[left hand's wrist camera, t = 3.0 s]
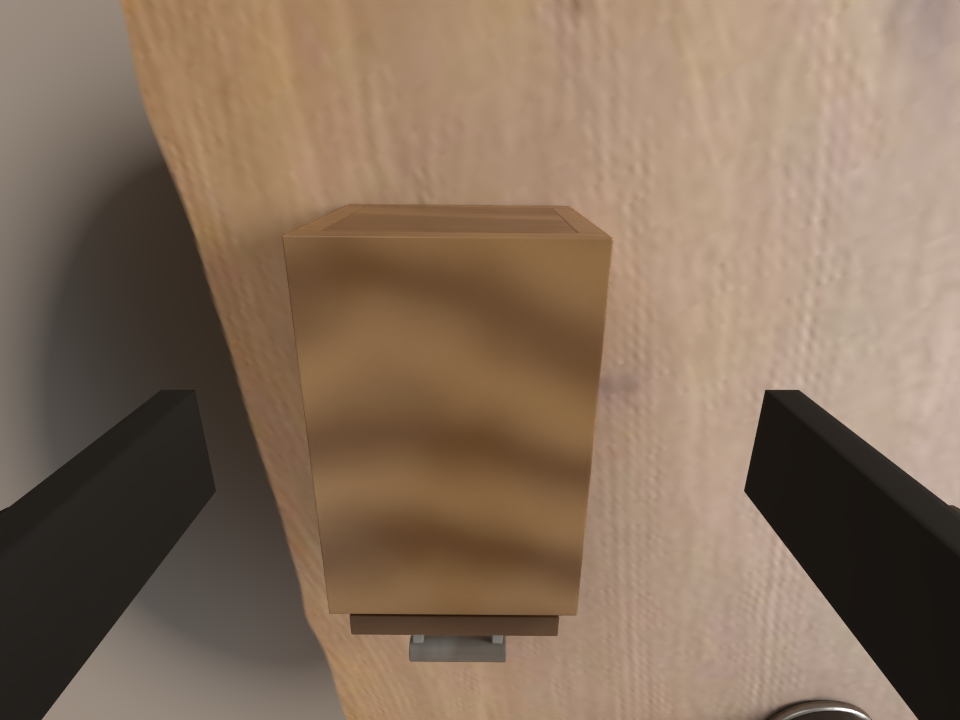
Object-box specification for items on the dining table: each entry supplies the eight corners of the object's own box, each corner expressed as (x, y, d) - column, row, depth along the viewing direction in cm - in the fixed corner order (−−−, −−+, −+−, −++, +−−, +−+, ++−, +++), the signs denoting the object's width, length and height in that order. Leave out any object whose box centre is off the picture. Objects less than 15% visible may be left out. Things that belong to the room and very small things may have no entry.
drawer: (537, 598, 36) (551, 715, 29) (384, 597, 36) (359, 713, 29) (556, 282, 28) (582, 332, 21) (361, 281, 28) (318, 330, 21)
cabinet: (551, 487, 34) (577, 616, 25) (370, 485, 34) (329, 614, 25) (569, 205, 28) (613, 237, 18) (348, 204, 28) (281, 235, 18)
